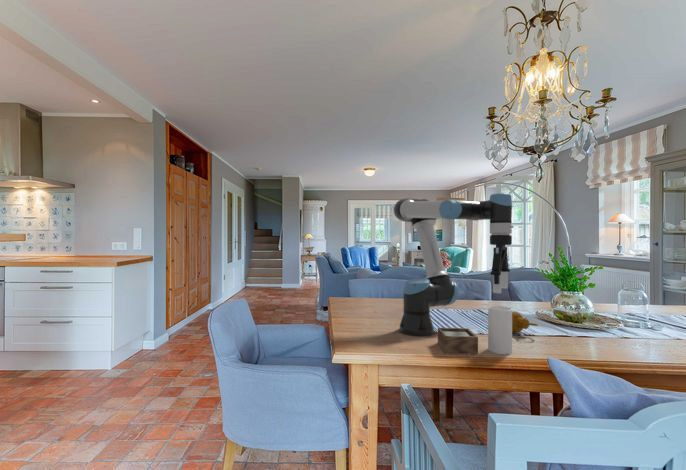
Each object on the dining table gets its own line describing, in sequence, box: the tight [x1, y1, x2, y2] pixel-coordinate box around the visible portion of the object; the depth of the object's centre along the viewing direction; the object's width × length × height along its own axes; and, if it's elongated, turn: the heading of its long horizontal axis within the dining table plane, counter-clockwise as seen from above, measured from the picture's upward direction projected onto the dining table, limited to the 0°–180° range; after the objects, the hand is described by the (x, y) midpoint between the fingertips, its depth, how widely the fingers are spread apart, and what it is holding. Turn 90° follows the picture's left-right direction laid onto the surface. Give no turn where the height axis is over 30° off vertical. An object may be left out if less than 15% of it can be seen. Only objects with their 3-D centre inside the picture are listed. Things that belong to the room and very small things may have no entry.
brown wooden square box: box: [437, 327, 479, 355], centre depth 130 cm, size 12×12×6 cm
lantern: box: [512, 311, 539, 334], centre depth 154 cm, size 9×9×25 cm
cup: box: [487, 305, 513, 355], centre depth 128 cm, size 8×8×16 cm
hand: (500, 290), depth 128 cm, fingers open, 13 cm apart
